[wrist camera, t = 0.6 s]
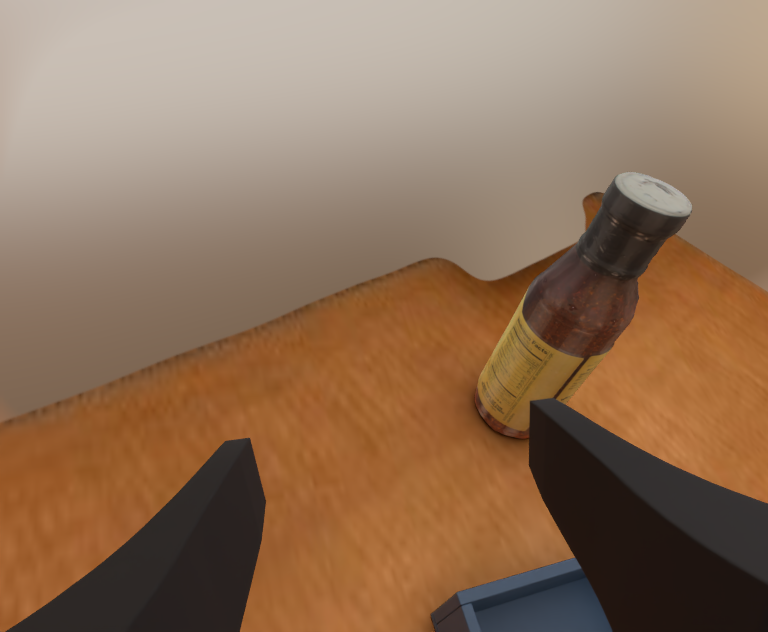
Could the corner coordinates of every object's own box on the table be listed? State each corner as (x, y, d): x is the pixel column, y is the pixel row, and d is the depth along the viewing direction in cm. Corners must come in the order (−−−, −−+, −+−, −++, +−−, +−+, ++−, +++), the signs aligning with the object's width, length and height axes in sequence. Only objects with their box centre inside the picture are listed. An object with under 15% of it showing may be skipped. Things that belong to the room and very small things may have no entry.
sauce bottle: (531, 379, 40) (686, 171, 27) (554, 445, 36) (753, 238, 22) (459, 373, 39) (583, 150, 25) (474, 441, 35) (633, 217, 21)
